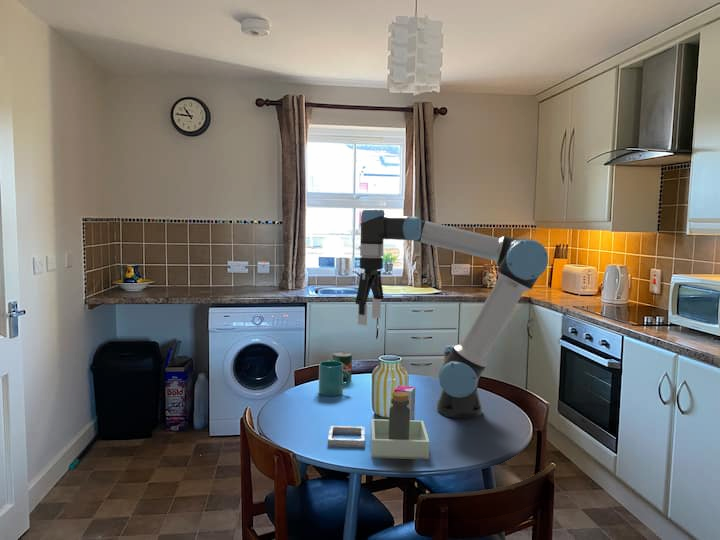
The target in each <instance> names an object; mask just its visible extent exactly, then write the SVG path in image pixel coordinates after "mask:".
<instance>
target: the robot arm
mask: <svg viewBox="0 0 720 540" xmlns="http://www.w3.org/2000/svg"><path fill="white" fill-rule="evenodd" d="M360 216H361V217H360V218H361V219H360V223H359V224H360V245H359V246H358V249H359V251H360V253H359V255H360V256H361V257H360V258H359V269H362V270H364V272H360V274H359V275H360V276H359V283H358V289H357V292H356V298H355V305H358V306H357V307H358V311H357V312H358V314H357V315H358V316H357V320H358V321H357V325H359V326H367V323H368V322H367V321H368V304H367V303H368V298H369V296H370V295H369V294H370V291H371V293H372V296H373V298H372V301H371V302H372V308H371V309H372V310H371V319H381V306H382V305H381V303H382V302H381V301H382V300H384V291H383V282H382V272H381V270H382V269H383V268H384V266H383V265H384V258H383V256H384V240H399V241H409V242H410V241H414V242H417V243H422V244H427V245H430V246H435V247H438V248H443V249H446V250H450V251H454V252H459V253H463V254H466V255H470V256H473V257H478V258H482V259H485V260H490V261H494V264H495V265H497V266H498V268H497V270H496V274H497V280H496V281H495V284H494V285H493V286H492V289H491V291H490V292H489V294H488V296H487V297H486V299H485V301H484V303H483V305H482V307H481V308H480V310H479V311H478V313H477V315H476V317H475V319H474V320H473V322H472V324H471V325H470V327H469V329H468V331H467V333H466V334H465V336H464V337H463V340H462V341H461V343H459V344H448V345H446V346H445V347H444V352H443V354H444V355H443V357H444V358H443V363H442V366H441V368H440V370H439V371H438V373H439V374H438V380H439V385H440V387H441V389H442V390H441V392H440V395H439V398H438V400H437V404H436V406H437V407H436V410H437V412H438V413H439V414H441V415H442V416H445V417H447V418H453V419H461V420H467V419H475V418H479V417H481V415H482V409H483V407H482V403H481V399H480V396H479V392H478V385H479V384H478V383H479V379H480V377H481V376H482V375H483V373H484V371H485V369H486V367H487V365H488V364H487V361H486V357H487V355H488V353H489V352H490V350H491V349H492V347H493V345H494V343H495V342H496V340H497V338H498V336H499V335H500V333H501V331H502V330H503V329H504V326H505V325H506V323H507V322H508V320H509V318H510V316H511V315H512V312H514V309H515V308H516V306H517V304H518V303H519V301H520V299H521V297H522V296H523V294H524V293H525V292H527V291H531V290H532V289H533V287H534V286H535V284H536V282H537V281H538V279H539V277H540V276H541V275H542V274H544V273H545V271H546V269H547V267H548V265H549V255H548V252H547V250H546V248H545V246H544V245H543V244H542V243H540V242H539V241H538V240H535V239H532V238H516V237H515V238H514V237H510V236H509V237H508V236H504V235H503V236H501V237H495V236H492V235H487V234H483V233H480V232H474V231H471V230H470V231H469V230H467V229H461V228H457V227H453V226H450V225H445V224H439V223H436V222H431V221H428V220H422V219H421V218H420V217H419V216H413V215H411V216H410V215H409V216H406V215H404V216H402V215H401V216H398V215H396V216H395V215H393V216H392V215H391V216H389V215H386V214H385V210H384V209H371V208H369V209H363V210H362V212H361V215H360ZM478 416H479V417H478Z"/></svg>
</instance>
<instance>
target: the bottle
mask: <svg viewBox="0 0 720 540" xmlns="http://www.w3.org/2000/svg"><path fill="white" fill-rule="evenodd" d="M391 395H392V398H391V399H390V404H392V405H391V406H390V407H389V415H388V417H389V419H388V420H389V439H394V440H409V424H410V409H409V408H408V407H407V405H408V404H409V400H408V395H409V394H408V393H406V392H401V391H397V392H394V391H393V392H392V393H391Z"/></svg>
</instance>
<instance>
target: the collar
mask: <svg viewBox="0 0 720 540" xmlns="http://www.w3.org/2000/svg"><path fill="white" fill-rule="evenodd" d="M365 427H366V426H354V425H353V426H349V425H330V426H329V429H328V430H329V431H328V437H327V447H334V448H335V447H336V448H365V446H366V445H365V444H366V443H365V442H366V438H365V436H366V435H365V434H366V433H365V431H366V430H365V429H366V428H365ZM335 434H336V435H337V434H339V435H341V434H342V435H360V438H333V437H334V435H335Z"/></svg>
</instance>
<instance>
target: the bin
mask: <svg viewBox="0 0 720 540" xmlns="http://www.w3.org/2000/svg"><path fill="white" fill-rule="evenodd" d="M370 420H371V422H370V423H371V424H370V425H371V426H370V443H371V444H370V447H371V449H370V450H371V458H372V459H402V460H405V459H406V460H407V459H408V460H430V440H429V436H428V431H427V429H426V426H425V421H424V420H415V419H414V420H410V424H409V440H394V439H389V419H384V418H383V419H382V418H381V419H380V418H379V419H377V418H372V419H370Z"/></svg>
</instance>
